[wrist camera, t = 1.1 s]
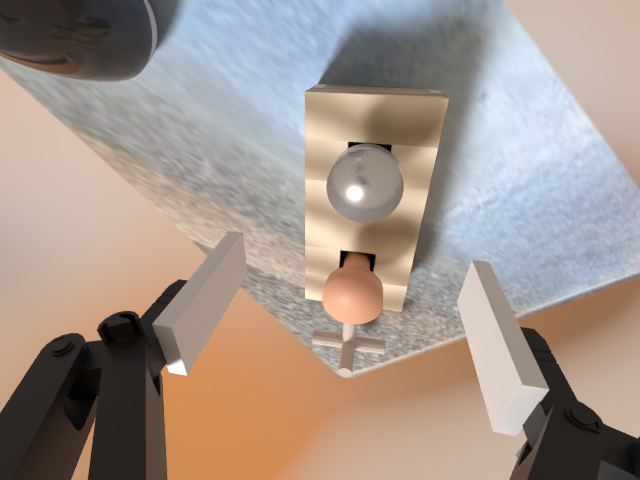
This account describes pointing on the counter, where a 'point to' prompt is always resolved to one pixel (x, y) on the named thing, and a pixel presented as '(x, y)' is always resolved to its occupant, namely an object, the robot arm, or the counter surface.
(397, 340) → the counter surface
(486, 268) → the robot arm
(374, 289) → the terracotta plunger
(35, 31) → the pump dispenser
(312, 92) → the panel housing
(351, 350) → the pipe connector
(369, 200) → the grey shiny disc
